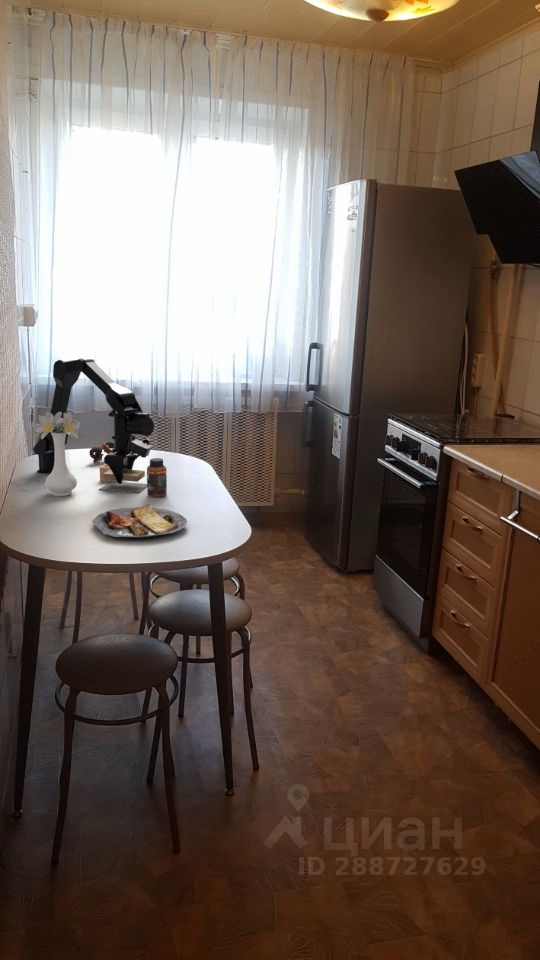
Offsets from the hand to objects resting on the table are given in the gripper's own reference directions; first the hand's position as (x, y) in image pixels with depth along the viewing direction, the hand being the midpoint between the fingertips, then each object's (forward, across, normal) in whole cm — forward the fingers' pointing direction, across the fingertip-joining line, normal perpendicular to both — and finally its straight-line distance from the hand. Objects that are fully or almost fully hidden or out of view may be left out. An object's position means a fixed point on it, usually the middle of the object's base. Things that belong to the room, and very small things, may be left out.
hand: (124, 480), depth 241 cm
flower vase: (+2, -11, +16) cm, 20 cm away
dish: (+2, +11, +7) cm, 13 cm away
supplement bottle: (+2, -6, -13) cm, 14 cm away
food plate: (+3, -37, -18) cm, 41 cm away
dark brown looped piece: (+3, +32, +19) cm, 37 cm away
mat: (+2, 0, 0) cm, 2 cm away
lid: (-1, 0, 0) cm, 1 cm away
